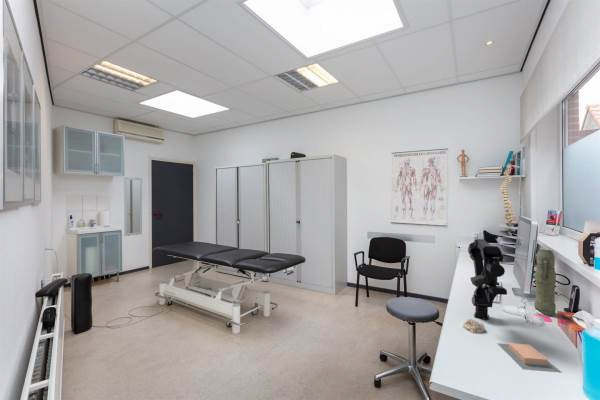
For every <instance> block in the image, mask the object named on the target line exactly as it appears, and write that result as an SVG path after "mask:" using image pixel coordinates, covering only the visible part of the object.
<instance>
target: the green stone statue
mask: <svg viewBox="0 0 600 400" xmlns="http://www.w3.org/2000/svg"><path fill="white" fill-rule="evenodd" d="M555 264H556V257H555V253H554V252H553V251H552V250H550V249H539V250H538V251H537V254H536V268H535V270H534V271H535V272H534V280H535V299H534V310H535V309H536V310H538V311H539V312H541V313H542V314H544V315H543V316H545V315H546V316H547V317H555V316H556V309H557V307H556V303H555V296H556V295H555V293H556V292H555V289H556V288H555V285H556V284H557V273H556V271H555V269H556V268H555ZM546 316H545V317H546Z"/></svg>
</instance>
